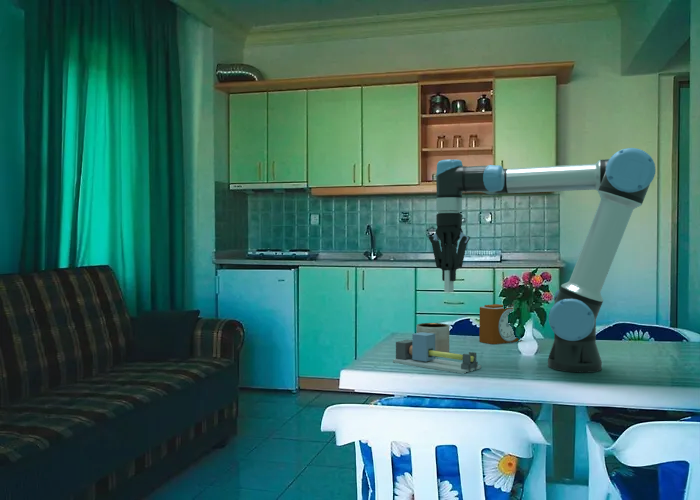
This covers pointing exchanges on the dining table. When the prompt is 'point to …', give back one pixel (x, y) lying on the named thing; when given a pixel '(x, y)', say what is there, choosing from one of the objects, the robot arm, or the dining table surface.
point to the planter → (437, 334)
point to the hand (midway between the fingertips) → (449, 292)
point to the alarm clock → (495, 325)
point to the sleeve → (422, 346)
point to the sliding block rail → (406, 358)
